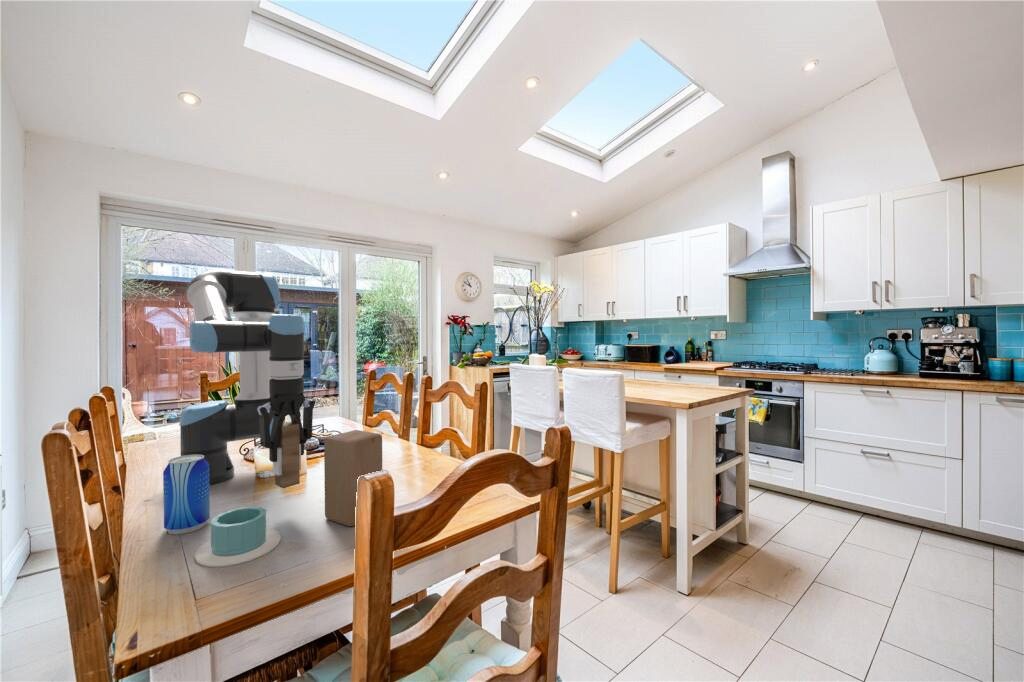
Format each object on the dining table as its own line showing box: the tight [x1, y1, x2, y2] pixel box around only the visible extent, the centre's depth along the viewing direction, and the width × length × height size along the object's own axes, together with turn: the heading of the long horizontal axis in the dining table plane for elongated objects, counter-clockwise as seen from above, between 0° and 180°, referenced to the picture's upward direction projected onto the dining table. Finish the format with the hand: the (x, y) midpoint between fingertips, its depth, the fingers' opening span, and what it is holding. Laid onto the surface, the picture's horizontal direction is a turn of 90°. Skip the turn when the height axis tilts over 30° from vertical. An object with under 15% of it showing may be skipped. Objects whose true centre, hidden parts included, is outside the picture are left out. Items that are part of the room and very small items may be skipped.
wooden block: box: [323, 429, 383, 528], centre depth 104 cm, size 10×10×20 cm
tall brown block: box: [274, 421, 301, 489], centre depth 105 cm, size 4×4×15 cm
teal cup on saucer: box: [194, 506, 281, 568], centre depth 89 cm, size 15×15×7 cm
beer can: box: [162, 455, 211, 535], centre depth 98 cm, size 8×8×16 cm
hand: (287, 471), depth 105 cm, fingers closed on tall brown block, 4 cm apart
